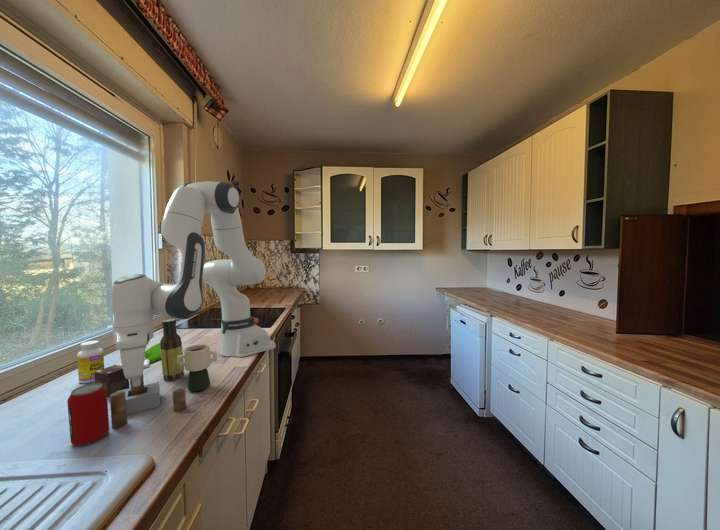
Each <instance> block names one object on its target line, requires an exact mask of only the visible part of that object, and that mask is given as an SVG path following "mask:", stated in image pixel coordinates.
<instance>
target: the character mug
mask: <svg viewBox="0 0 720 530" xmlns="http://www.w3.org/2000/svg"><path fill="white" fill-rule="evenodd" d="M211 355H213V357H212V358H211ZM181 358H183V361H184V363H181ZM217 360H218V353H217V351H216V350H212V351H211V348H210V345H209V344H205V343H204V344H203V343H200V344H193V345H189V346H187V347H185V348H184V349H183V355H180V356H178V357H177V364H178V366H184V370H185V371H187V372H188V376H187V390H188V391H191V392H198V391H202V390H204V389H206V388H208V387H210V385H211V381H210V377H209V376H210V374H209V372H208V371H209V370H208V369H207V368H209V367H210V365H211V363H212V362H216V361H217Z"/></svg>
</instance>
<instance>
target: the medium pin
mask: <svg viewBox="0 0 720 530" xmlns="http://www.w3.org/2000/svg"><path fill="white" fill-rule="evenodd" d="M109 404H110V405H109V407H110V419H111V429H115V430H116V429H120V428H123V427H124V426H126V425H127V424H128V415H127V412H126V397H125V391H119V392H115V393H113V394H111V395H110V397H109Z"/></svg>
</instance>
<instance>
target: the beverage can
mask: <svg viewBox="0 0 720 530" xmlns="http://www.w3.org/2000/svg"><path fill="white" fill-rule="evenodd" d="M70 393H71V394H69V397H68V398H67V414H68V427H69V437H70V443H71V444H72V445H75V446H87V445H91V444H93V443H95V442H98V441H99V440H101V439H102V438H103V437H105V436H106V435H107V434H108V433H109V431H110V422H109V407H108V397H107V392H106V389H105V388H104V387H103V386H102V384H100V383H95V382H93V383H87V384H85V385H81V386H78V387H76V388H74V389H73V390H71V391H70Z"/></svg>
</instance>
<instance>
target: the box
mask: <svg viewBox="0 0 720 530" xmlns="http://www.w3.org/2000/svg"><path fill="white" fill-rule="evenodd" d="M94 375H95V382H94V383H100V384H102V386H103V387H104V388H105V389H106V392H107V398H110V395H111V394H113V393H115V392H117V391H120V390H124V389H129V388H130V379H126V378H125V376H124V372H123V367H122V365H117V364H114V365H110V366H108V367H104V369H102V370H99V371H96V372H94Z"/></svg>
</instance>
